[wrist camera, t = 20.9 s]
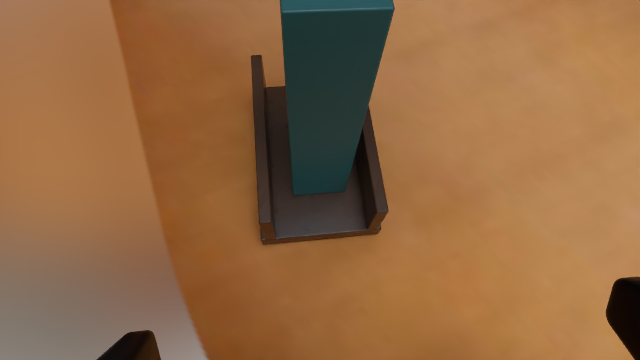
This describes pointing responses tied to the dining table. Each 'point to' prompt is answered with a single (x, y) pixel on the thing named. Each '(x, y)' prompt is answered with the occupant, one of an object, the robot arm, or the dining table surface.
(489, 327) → the dining table surface
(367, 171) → the rack
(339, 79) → the teal rectangular block
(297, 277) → the dining table surface
